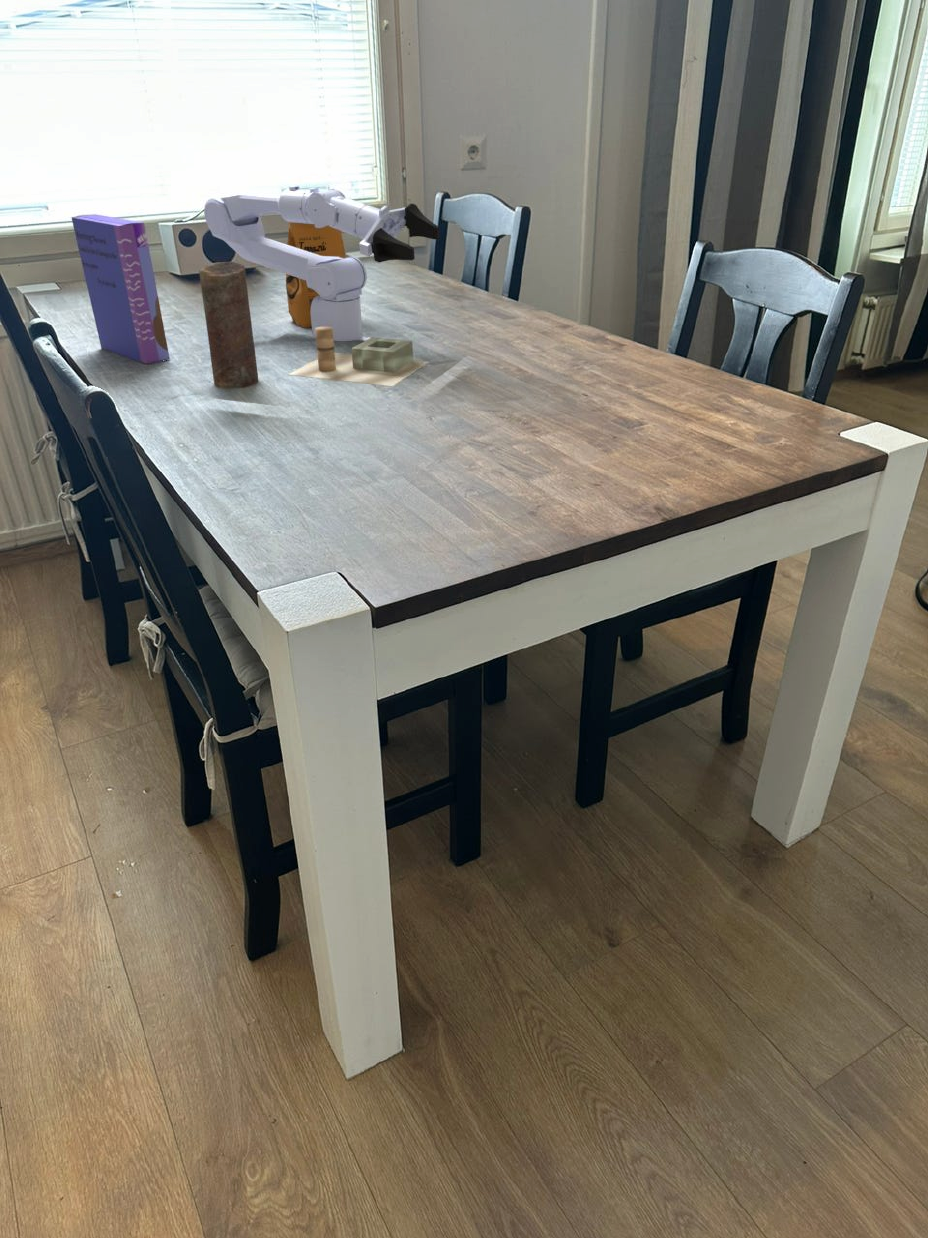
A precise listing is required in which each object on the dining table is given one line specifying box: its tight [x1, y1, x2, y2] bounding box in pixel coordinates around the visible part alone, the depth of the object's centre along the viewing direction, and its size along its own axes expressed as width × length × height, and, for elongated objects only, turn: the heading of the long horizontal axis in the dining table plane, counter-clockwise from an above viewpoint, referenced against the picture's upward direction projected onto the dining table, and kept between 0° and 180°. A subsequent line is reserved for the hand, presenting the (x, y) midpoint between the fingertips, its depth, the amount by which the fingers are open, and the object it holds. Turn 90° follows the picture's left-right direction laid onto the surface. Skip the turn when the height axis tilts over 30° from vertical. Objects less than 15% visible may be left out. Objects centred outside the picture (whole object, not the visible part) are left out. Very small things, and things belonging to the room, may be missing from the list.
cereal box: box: [71, 213, 170, 366], centre depth 162 cm, size 17×5×24 cm, turn 47°
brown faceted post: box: [198, 261, 259, 390], centre depth 142 cm, size 8×7×20 cm
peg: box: [315, 326, 336, 372], centre depth 151 cm, size 3×3×7 cm
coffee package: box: [285, 222, 347, 329], centre depth 183 cm, size 10×12×22 cm
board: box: [287, 336, 429, 387], centre depth 152 cm, size 20×15×5 cm
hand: (426, 243), depth 153 cm, fingers open, 7 cm apart
